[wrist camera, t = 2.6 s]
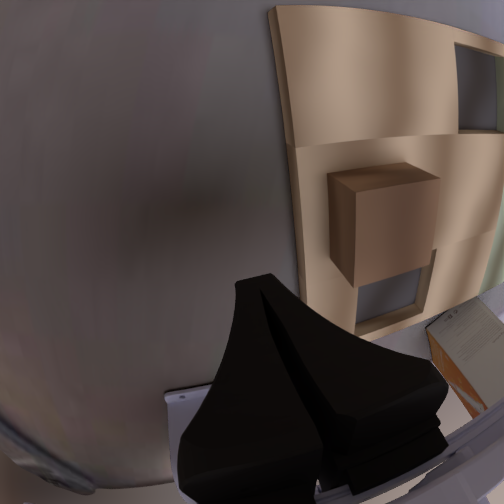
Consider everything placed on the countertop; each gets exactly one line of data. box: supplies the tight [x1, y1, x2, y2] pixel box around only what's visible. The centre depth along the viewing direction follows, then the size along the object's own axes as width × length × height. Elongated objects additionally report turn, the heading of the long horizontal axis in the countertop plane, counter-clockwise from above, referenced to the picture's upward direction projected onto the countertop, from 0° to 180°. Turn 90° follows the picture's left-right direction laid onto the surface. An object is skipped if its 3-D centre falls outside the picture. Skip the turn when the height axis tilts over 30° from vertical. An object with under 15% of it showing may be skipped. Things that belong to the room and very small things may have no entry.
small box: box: [426, 297, 504, 419], centre depth 22 cm, size 8×6×13 cm
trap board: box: [268, 5, 504, 341], centre depth 18 cm, size 23×22×2 cm
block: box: [327, 162, 441, 288], centre depth 15 cm, size 5×5×3 cm
